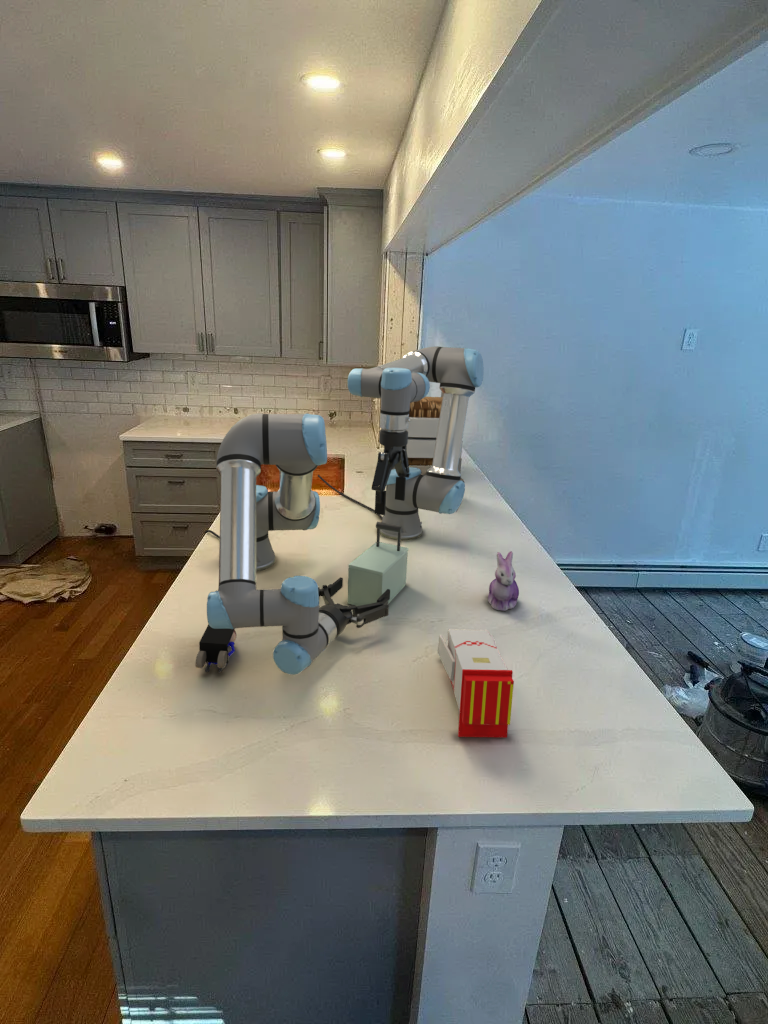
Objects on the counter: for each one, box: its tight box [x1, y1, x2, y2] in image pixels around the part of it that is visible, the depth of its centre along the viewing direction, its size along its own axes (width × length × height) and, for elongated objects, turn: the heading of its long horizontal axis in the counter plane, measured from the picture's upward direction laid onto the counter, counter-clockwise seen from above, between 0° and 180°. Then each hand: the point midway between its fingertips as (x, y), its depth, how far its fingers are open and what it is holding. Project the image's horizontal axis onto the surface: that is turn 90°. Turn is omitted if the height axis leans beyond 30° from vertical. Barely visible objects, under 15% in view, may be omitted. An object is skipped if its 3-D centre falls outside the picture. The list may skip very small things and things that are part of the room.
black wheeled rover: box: [195, 623, 237, 673], centre depth 125 cm, size 7×8×15 cm
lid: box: [348, 521, 410, 575], centre depth 153 cm, size 18×10×8 cm, turn 156°
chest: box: [347, 551, 409, 606], centre depth 156 cm, size 18×10×11 cm, turn 156°
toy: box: [437, 628, 515, 738], centre depth 117 cm, size 12×13×30 cm
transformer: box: [383, 391, 464, 475], centre depth 268 cm, size 34×33×41 cm
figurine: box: [487, 550, 520, 612], centre depth 153 cm, size 9×10×15 cm
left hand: (364, 587), depth 147 cm, fingers open, 13 cm apart
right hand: (390, 506), depth 154 cm, fingers open, 13 cm apart
